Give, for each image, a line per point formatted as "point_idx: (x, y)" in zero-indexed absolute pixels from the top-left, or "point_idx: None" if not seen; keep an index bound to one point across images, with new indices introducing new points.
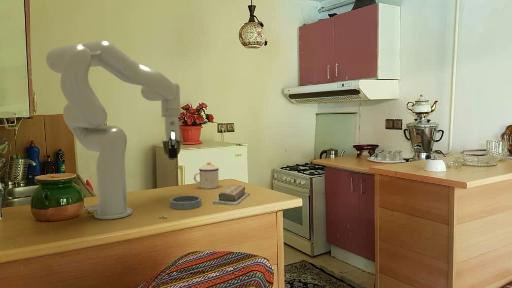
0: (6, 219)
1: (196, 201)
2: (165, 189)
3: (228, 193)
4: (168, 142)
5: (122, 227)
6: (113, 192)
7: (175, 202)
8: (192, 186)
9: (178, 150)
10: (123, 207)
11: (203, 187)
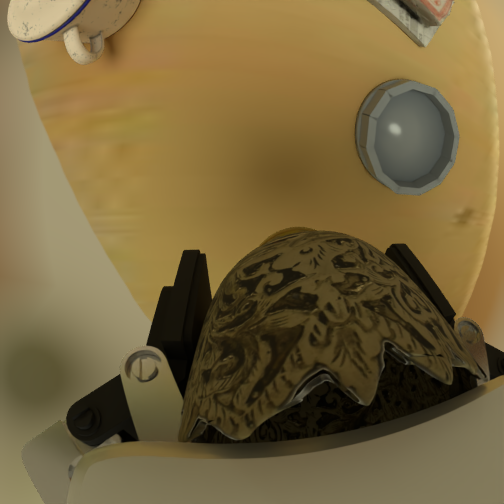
0: None
1: (454, 117)
2: (101, 189)
3: (450, 2)
4: (205, 441)
5: (460, 284)
6: None
7: (439, 183)
8: (67, 79)
9: (401, 269)
10: None
11: (124, 22)
